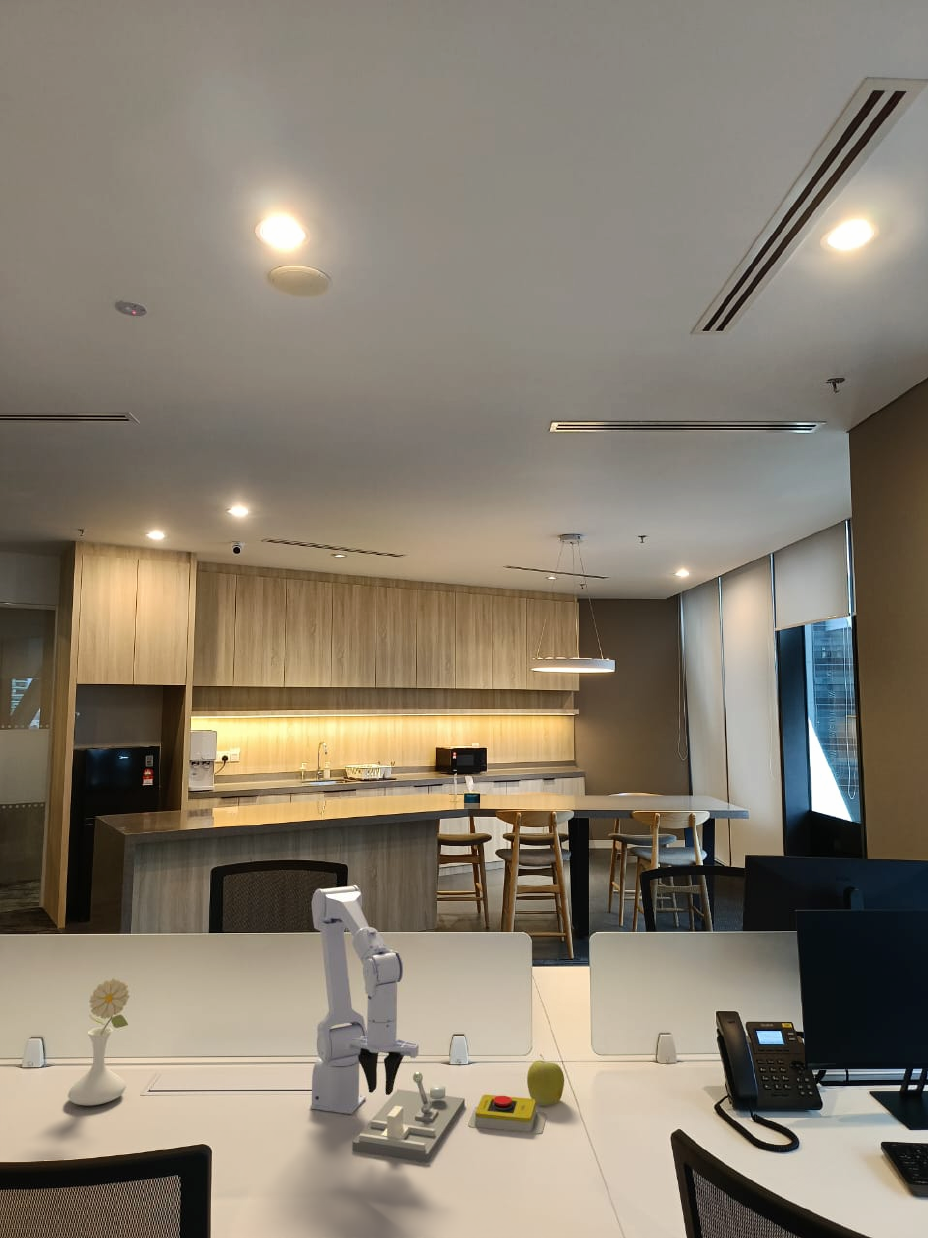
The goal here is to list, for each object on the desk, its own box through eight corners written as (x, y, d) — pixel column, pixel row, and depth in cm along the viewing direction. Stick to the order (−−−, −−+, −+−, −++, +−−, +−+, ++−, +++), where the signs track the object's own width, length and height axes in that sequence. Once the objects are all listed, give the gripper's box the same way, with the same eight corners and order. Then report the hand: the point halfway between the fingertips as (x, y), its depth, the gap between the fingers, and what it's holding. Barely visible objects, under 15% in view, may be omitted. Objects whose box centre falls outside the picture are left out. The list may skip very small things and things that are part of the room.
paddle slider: (380, 1140, 162) (381, 1115, 163) (389, 1130, 166) (389, 1105, 167) (400, 1144, 161) (401, 1118, 161) (408, 1133, 165) (409, 1107, 166)
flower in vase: (54, 1105, 179) (61, 981, 182) (96, 1084, 190) (102, 967, 193) (102, 1117, 174) (109, 989, 177) (143, 1094, 185) (148, 974, 188)
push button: (427, 1098, 178) (428, 1090, 178) (432, 1092, 181) (432, 1084, 181) (442, 1100, 177) (442, 1092, 177) (447, 1094, 180) (447, 1086, 180)
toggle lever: (421, 1115, 171) (409, 1076, 173) (425, 1110, 174) (413, 1071, 175) (430, 1113, 171) (418, 1073, 172) (434, 1107, 173) (422, 1069, 175)
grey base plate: (352, 1150, 162) (352, 1136, 162) (397, 1096, 184) (397, 1084, 185) (427, 1162, 157) (427, 1148, 158) (464, 1106, 180) (464, 1093, 180)
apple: (551, 1110, 176) (540, 1057, 179) (524, 1110, 181) (515, 1058, 185) (576, 1100, 181) (566, 1048, 184) (550, 1099, 186) (540, 1049, 190)
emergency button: (475, 1087, 180) (546, 1093, 177) (475, 1109, 180) (547, 1116, 177) (467, 1106, 171) (541, 1113, 168) (467, 1130, 171) (542, 1137, 168)
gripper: (339, 1021, 165) (337, 1095, 163) (410, 1029, 161) (409, 1105, 159) (354, 1009, 172) (352, 1080, 170) (422, 1016, 168) (421, 1090, 166)
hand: (380, 1091), depth 165 cm, fingers open, 3 cm apart
